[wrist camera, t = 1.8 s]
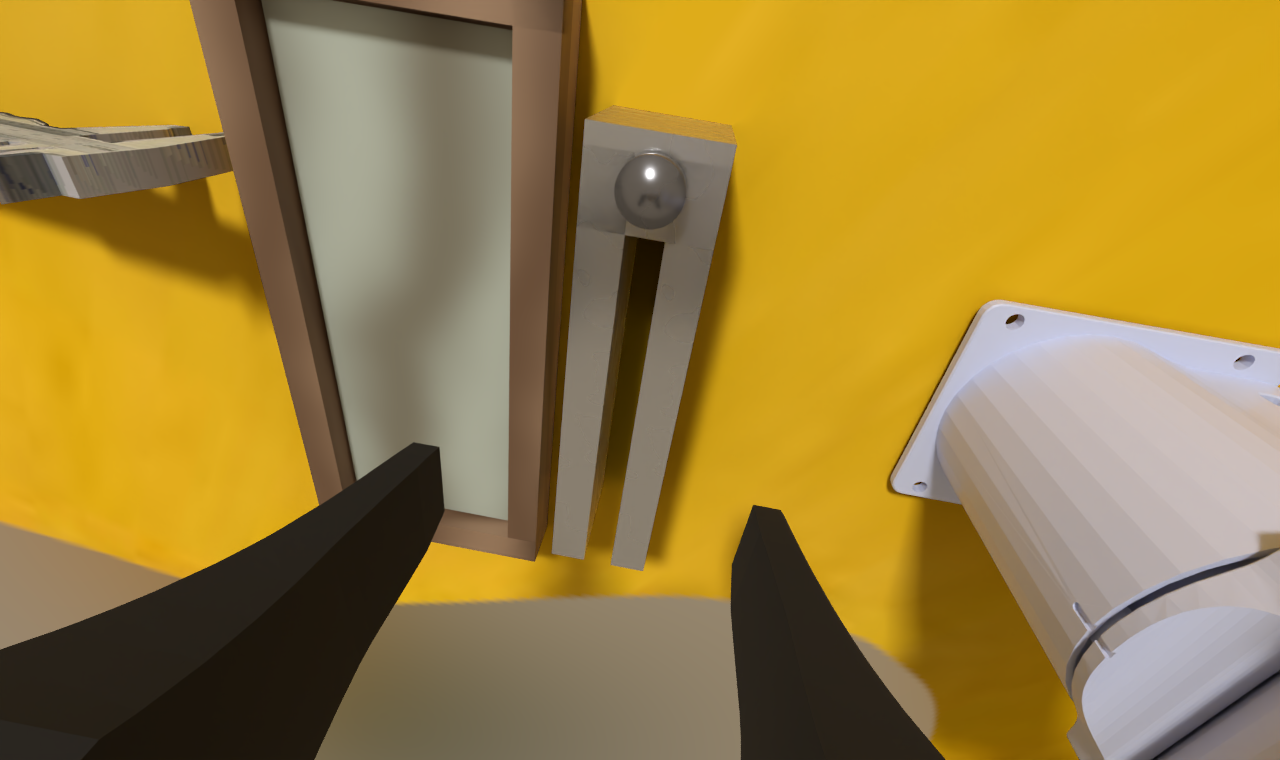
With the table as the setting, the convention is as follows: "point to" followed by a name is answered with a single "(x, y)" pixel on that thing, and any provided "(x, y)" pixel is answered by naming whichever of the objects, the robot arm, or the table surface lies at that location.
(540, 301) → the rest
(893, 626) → the table surface
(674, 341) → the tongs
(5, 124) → the caliper
